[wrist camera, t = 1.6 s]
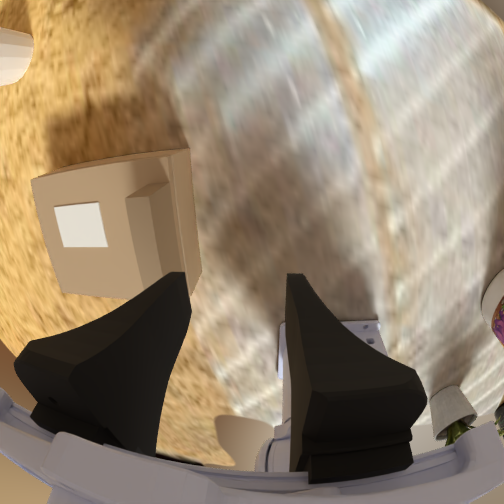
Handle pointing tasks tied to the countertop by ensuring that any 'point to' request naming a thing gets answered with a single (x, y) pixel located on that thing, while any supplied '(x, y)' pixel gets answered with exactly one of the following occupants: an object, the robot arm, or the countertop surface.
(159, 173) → the lid
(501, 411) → the supplement bottle
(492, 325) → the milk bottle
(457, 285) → the countertop surface
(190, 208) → the mailer
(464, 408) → the house plant
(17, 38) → the white cup
